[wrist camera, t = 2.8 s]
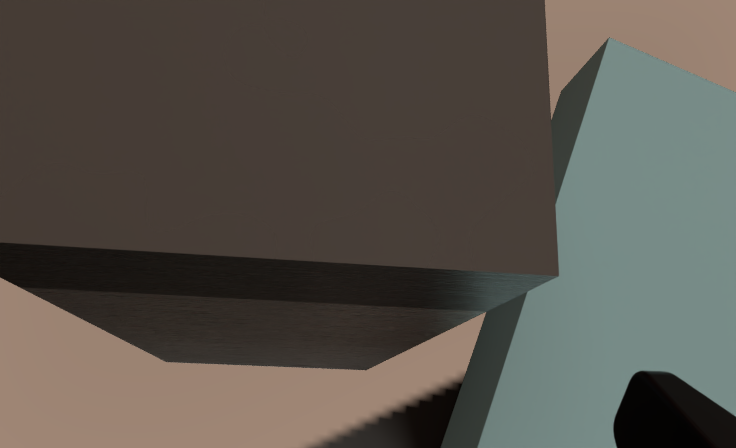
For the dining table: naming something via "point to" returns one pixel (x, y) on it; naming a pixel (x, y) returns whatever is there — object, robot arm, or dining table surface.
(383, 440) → the dining table surface
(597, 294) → the stand
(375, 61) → the housing
